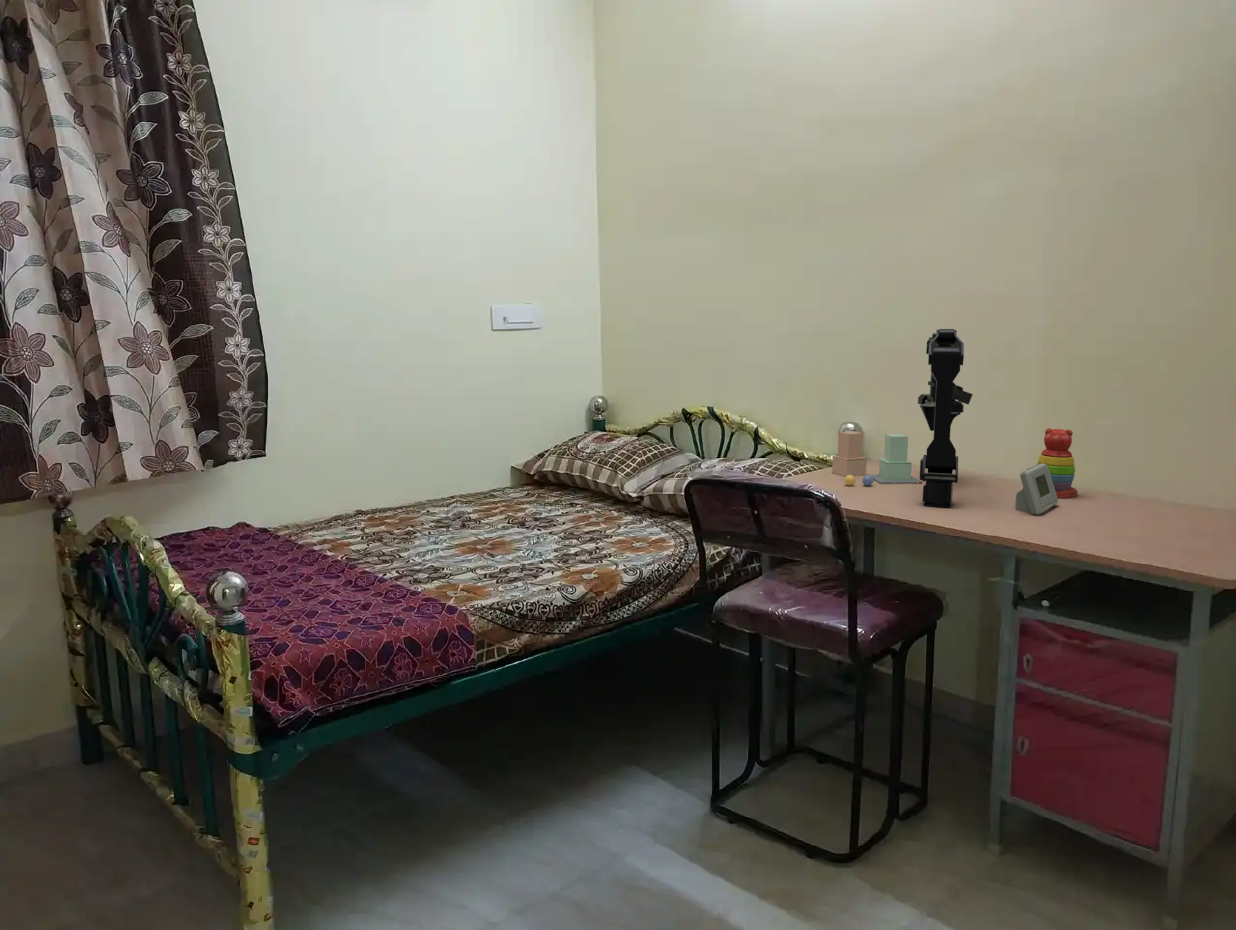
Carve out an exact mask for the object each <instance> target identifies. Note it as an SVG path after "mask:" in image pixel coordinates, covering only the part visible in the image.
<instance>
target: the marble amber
mask: <svg viewBox="0 0 1236 930" xmlns="http://www.w3.org/2000/svg"><path fill="white" fill-rule="evenodd" d="M844 483H845V485H847V486H853V485H855V483H856V476H852V475H848V476H844Z"/></svg>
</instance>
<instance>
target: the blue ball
mask: <svg viewBox="0 0 1236 930" xmlns="http://www.w3.org/2000/svg"><path fill="white" fill-rule="evenodd" d="M870 475H871V474H867V475H863V477H862V479H861V481H862V484H863V485H864V486H866V487H870V486H872V485H873V483H874V480H873V478H872V477H871V476H870Z"/></svg>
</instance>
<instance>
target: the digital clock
mask: <svg viewBox="0 0 1236 930" xmlns="http://www.w3.org/2000/svg"><path fill="white" fill-rule="evenodd" d="M1019 477H1020V480H1021V485H1022V489H1021V490H1019V491H1018V492H1016V495H1015V508H1014V509H1015V511H1017V510H1020V511H1019V512H1025V511H1028V512H1027V513H1031V514H1033V515H1038V516H1039V515H1042V514H1044V513H1046V512H1047V511H1049V510H1050V509H1049V508H1051V507H1052V508H1053V507H1054V506H1056V505H1057V504H1058V503H1059V500H1058V499H1059V498H1057V495H1056V492H1055V489H1054V486H1053V482H1052V479H1051V476H1050V473H1049V470H1048V467H1047V465H1046V464H1043V463H1042V464H1039V465H1037V464H1035V465H1033V466H1030V467H1028V468H1027V469H1025V470H1024V471H1022V472H1021V473H1020V475H1019ZM1052 508H1051V509H1052ZM1048 509H1049V510H1048ZM1046 510H1047V511H1046ZM1045 511H1046V512H1045ZM1043 512H1044V513H1043ZM1041 513H1042V514H1041Z"/></svg>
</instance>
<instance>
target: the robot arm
mask: <svg viewBox="0 0 1236 930" xmlns="http://www.w3.org/2000/svg"><path fill="white" fill-rule="evenodd" d="M964 345H965V343H964V342H963V341H962V340H961V339H960V338H959V336H958V335H957V329H955V328H939V329H936V332H933V333H932V334H931V336H930V337H928V340H927V341H926V348H925V349H926V351H925V353H926V355H928V360H927V361H928V363H927V365H928V366H930V380H928V381H927V385H928V386H930V388H929V393H922V394H919V396H918V397H917V404H918V405H919V407H920V409H921V412H922V413H923V415H924V418H925V421H926V424H927V427H928V429H929V431H931V432H933V437H932V438H933V439H932V440H931V442H930V443H929V445H928V446H927V448H926V454H923V457H922V458H921V459H920V465H919V480H920V481H922V482H925V484H924V485H923V487H922V502H923V503H922V504H923V506H928V507H938V508H951V507H952V506H953V504H954V501H953V494H954V493H953V492H954V491H953V490H954V484H957V483H958V479H959V456H958V455H956V452H957V450H956V447H955V446H954V444H953V443H952V441H951V428H952V427H951V426H952V424H953V421H954V419H955V418H956V417H958V416H960V415H961V414H962V413H964V404H966V405H969V404H970V402H971V400H972V398H973V393H970V392H967V391H964V388H963V387H962V386H960V385H957V384H956V382H954V381H955V379H956V378H957V376H958V375H959V373H960V371H961V366H964V359H965V357H964V356H965V353H964V351H965V350H964V349H965V347H964ZM926 470H927V472H926ZM953 471H954V474H953Z"/></svg>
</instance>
